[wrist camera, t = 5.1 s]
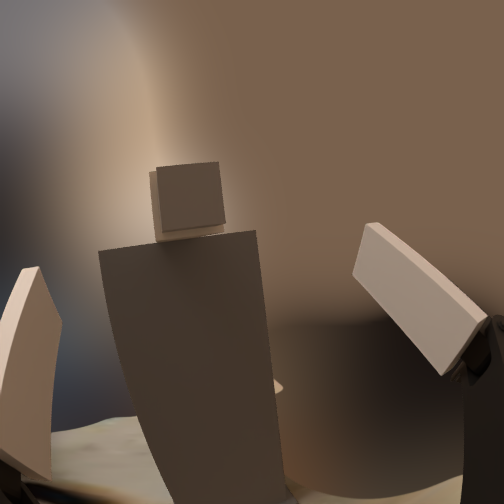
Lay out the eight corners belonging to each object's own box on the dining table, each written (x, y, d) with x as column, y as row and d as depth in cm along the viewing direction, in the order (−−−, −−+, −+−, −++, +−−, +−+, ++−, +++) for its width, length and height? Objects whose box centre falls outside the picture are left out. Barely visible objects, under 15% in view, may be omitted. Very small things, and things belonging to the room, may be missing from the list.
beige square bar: (155, 240, 10) (147, 160, 10) (158, 243, 37) (155, 220, 37) (234, 230, 11) (225, 154, 11) (181, 240, 38) (178, 217, 38)
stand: (182, 536, 20) (82, 253, 18) (169, 467, 33) (112, 250, 31) (298, 507, 24) (272, 228, 22) (259, 448, 38) (229, 234, 36)
